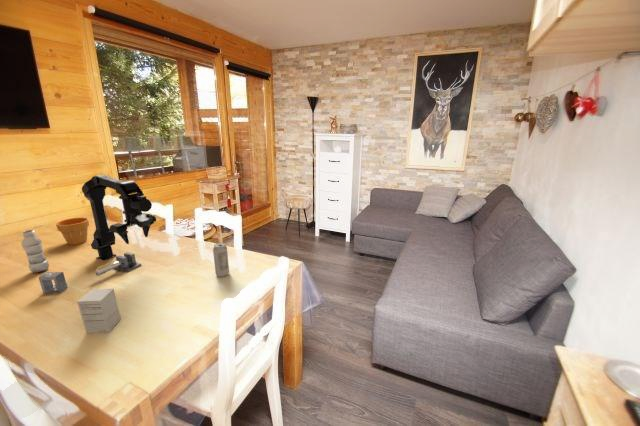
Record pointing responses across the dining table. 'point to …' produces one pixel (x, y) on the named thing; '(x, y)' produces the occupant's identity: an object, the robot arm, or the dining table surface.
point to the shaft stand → (119, 264)
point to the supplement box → (99, 310)
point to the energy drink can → (221, 259)
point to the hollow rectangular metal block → (48, 285)
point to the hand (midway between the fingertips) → (137, 240)
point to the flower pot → (74, 230)
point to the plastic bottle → (34, 252)
